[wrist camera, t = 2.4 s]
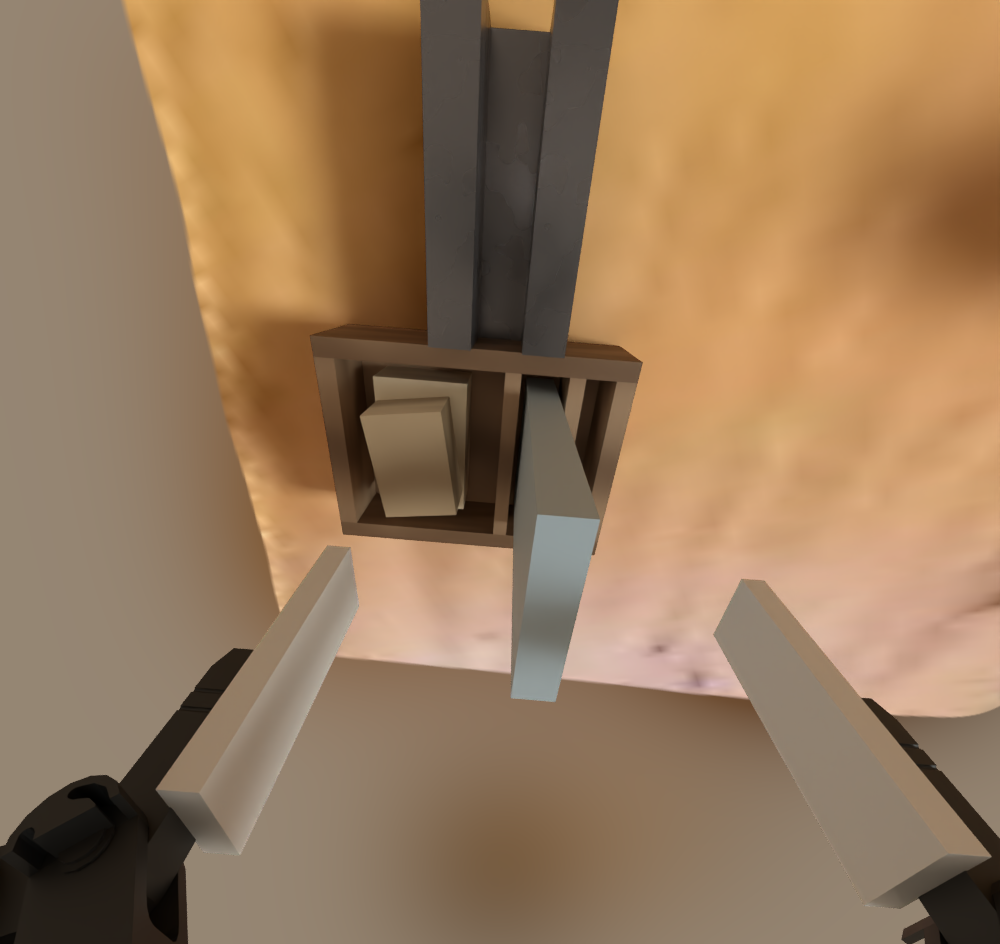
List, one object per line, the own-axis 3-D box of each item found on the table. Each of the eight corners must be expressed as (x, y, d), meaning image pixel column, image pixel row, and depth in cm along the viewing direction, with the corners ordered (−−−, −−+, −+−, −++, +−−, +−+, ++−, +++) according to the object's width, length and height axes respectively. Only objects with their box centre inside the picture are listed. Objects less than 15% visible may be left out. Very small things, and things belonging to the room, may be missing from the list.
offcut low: (387, 365, 22) (372, 376, 19) (472, 372, 22) (466, 383, 19) (396, 482, 25) (384, 502, 23) (468, 488, 25) (463, 509, 23)
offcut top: (377, 400, 20) (359, 416, 18) (449, 396, 20) (440, 411, 18) (398, 493, 23) (386, 517, 21) (462, 491, 23) (456, 514, 20)
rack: (347, 324, 22) (309, 335, 18) (619, 346, 22) (642, 362, 18) (368, 496, 27) (343, 534, 23) (583, 514, 27) (594, 555, 23)
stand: (439, 37, 16) (409, -54, 11) (601, 49, 16) (633, -36, 11) (441, 331, 22) (421, 346, 17) (560, 341, 22) (570, 358, 17)
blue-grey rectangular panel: (526, 377, 22) (537, 514, 9) (553, 379, 22) (600, 519, 9) (514, 492, 25) (510, 697, 13) (537, 494, 25) (555, 701, 13)
